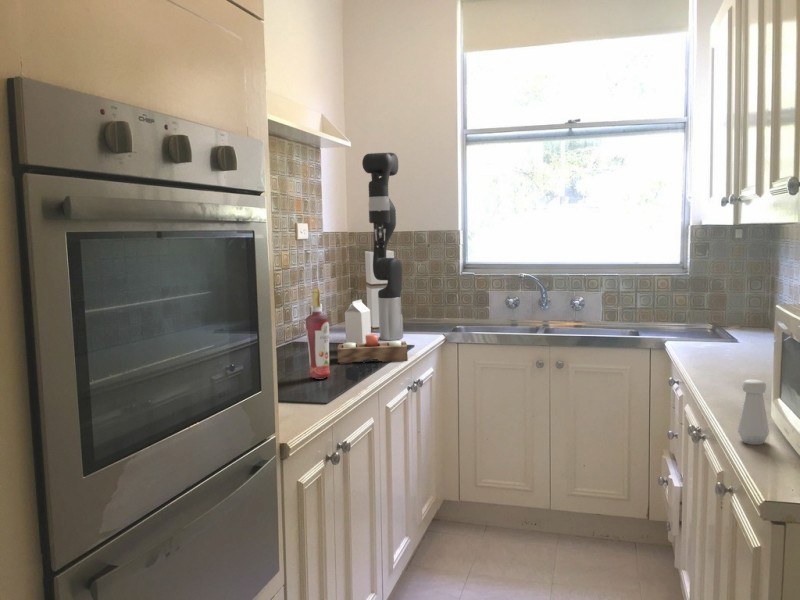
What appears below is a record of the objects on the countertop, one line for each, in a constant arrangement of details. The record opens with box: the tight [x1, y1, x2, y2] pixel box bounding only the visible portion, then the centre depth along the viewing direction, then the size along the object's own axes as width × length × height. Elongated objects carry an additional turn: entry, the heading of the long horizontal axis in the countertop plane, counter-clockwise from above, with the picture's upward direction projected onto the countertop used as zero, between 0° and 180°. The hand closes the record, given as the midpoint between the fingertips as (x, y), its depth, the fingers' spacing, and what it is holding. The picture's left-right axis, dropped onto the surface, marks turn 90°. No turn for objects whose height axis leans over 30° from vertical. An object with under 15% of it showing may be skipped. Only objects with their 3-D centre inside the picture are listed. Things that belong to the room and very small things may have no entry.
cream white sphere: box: [388, 340, 402, 346], centre depth 241 cm, size 4×4×4 cm
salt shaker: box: [737, 378, 770, 446], centre depth 141 cm, size 6×6×13 cm
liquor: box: [305, 288, 332, 379], centre depth 213 cm, size 7×7×28 cm
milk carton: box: [344, 299, 372, 343], centre depth 257 cm, size 7×7×19 cm
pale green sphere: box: [342, 342, 356, 348], centre depth 240 cm, size 4×4×4 cm
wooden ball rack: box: [337, 340, 409, 363], centre depth 241 cm, size 24×10×5 cm, turn 93°
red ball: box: [366, 333, 379, 346], centre depth 240 cm, size 4×4×4 cm
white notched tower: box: [364, 249, 395, 333], centre depth 305 cm, size 11×11×35 cm
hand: (381, 257), depth 248 cm, fingers closed
